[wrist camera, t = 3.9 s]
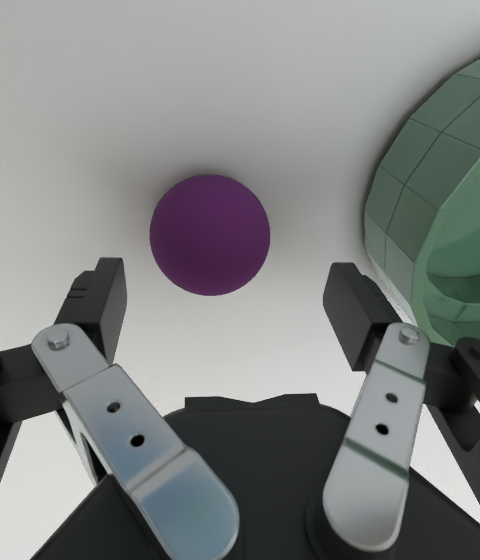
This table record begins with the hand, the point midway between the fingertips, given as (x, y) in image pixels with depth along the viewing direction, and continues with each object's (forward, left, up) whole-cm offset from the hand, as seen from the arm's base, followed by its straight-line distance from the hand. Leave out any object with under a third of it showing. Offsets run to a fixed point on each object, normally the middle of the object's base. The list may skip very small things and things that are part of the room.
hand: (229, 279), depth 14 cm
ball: (-1, 0, -4) cm, 4 cm away
